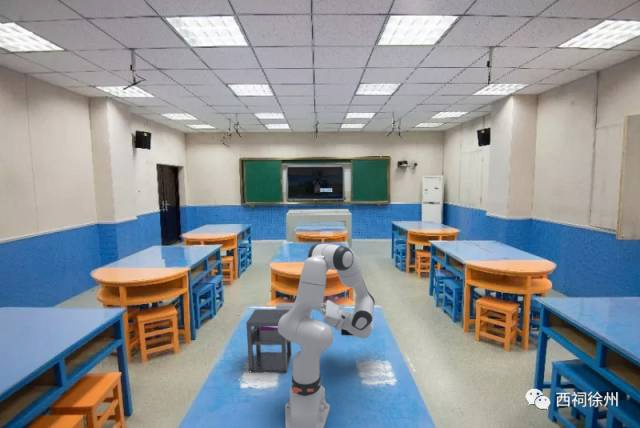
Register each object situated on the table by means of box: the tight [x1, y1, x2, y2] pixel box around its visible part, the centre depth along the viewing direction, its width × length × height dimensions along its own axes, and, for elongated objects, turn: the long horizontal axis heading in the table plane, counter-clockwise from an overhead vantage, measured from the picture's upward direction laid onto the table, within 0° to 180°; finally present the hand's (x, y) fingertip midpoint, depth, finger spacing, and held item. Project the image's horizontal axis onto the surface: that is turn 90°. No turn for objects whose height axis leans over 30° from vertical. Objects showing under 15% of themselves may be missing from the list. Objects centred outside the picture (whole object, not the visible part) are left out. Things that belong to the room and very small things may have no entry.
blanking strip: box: [275, 301, 325, 310], centre depth 159 cm, size 4×24×2 cm, turn 87°
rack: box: [246, 308, 293, 374], centre depth 162 cm, size 16×20×26 cm
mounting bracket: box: [260, 327, 278, 331], centre depth 191 cm, size 10×8×18 cm
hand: (316, 305), depth 158 cm, fingers closed on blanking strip, 4 cm apart
